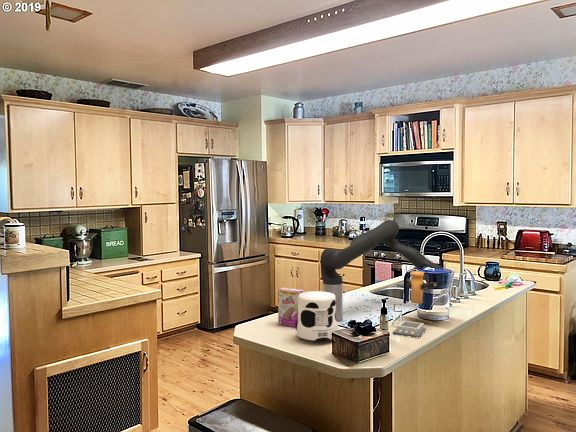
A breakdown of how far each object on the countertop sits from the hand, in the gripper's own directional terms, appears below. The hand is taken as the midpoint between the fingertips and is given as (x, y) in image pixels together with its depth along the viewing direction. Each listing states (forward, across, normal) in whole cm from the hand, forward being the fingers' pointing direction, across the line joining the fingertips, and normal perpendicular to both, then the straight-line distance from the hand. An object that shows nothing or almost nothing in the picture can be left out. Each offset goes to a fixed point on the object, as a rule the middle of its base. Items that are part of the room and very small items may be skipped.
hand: (415, 286), depth 207 cm
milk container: (+35, -31, +19) cm, 50 cm away
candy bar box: (+25, -49, +19) cm, 58 cm away
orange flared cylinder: (-3, 0, +8) cm, 8 cm away
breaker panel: (+8, 0, +18) cm, 20 cm away
